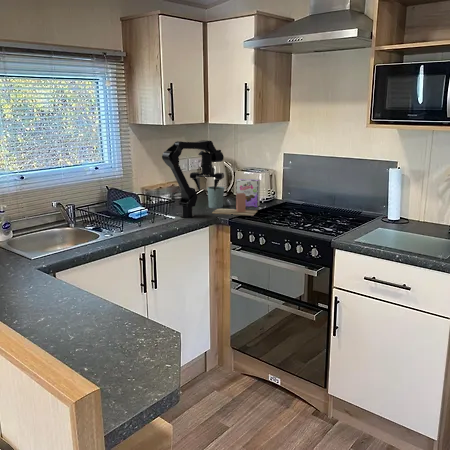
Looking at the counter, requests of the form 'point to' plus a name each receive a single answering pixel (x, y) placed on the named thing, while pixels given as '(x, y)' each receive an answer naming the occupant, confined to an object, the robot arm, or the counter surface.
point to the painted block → (240, 202)
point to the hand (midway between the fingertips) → (207, 190)
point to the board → (234, 212)
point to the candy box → (249, 190)
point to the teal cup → (215, 197)
